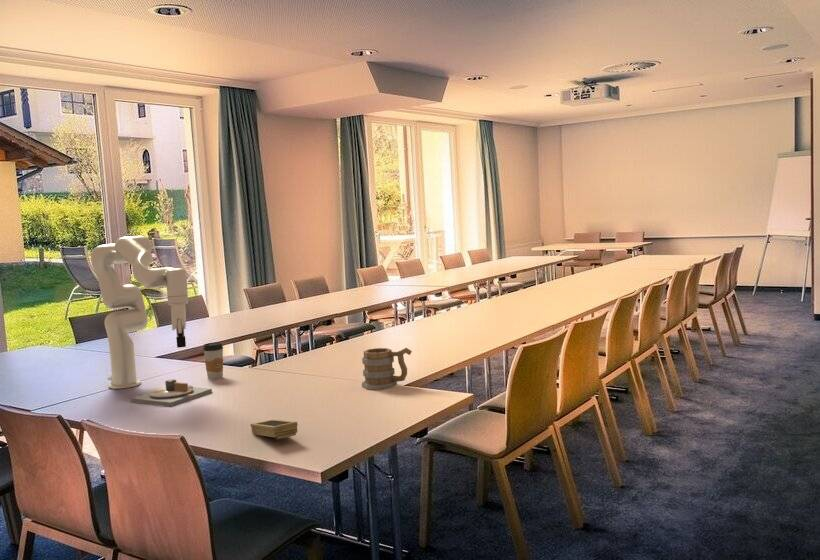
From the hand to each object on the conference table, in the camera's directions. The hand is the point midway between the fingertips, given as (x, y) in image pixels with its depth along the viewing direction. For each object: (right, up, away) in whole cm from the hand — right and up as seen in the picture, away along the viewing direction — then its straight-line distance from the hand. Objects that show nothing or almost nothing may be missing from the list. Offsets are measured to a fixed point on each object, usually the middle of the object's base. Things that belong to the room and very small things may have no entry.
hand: (181, 346), depth 269 cm
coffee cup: (+5, -17, +29) cm, 34 cm away
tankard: (+81, -15, -2) cm, 82 cm away
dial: (-3, -18, -2) cm, 18 cm away
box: (+47, -22, -59) cm, 79 cm away
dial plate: (-3, -19, -1) cm, 20 cm away
